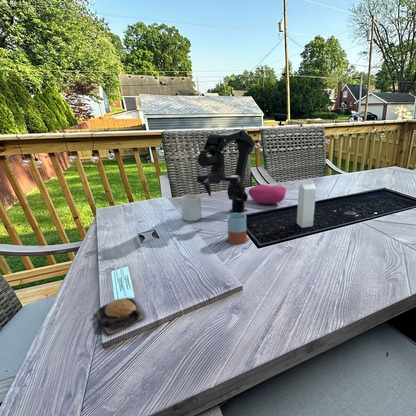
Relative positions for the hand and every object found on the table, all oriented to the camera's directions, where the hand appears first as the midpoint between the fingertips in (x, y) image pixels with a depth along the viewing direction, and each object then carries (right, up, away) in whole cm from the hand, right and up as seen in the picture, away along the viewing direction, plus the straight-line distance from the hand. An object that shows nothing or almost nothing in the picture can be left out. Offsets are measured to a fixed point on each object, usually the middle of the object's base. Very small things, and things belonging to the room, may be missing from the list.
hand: (219, 196), depth 122 cm
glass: (+11, -14, -16) cm, 24 cm away
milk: (+40, -14, +4) cm, 42 cm away
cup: (+11, -19, -14) cm, 26 cm away
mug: (-15, -10, +6) cm, 19 cm away
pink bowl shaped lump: (+20, -2, +35) cm, 40 cm away
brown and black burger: (-11, -33, -56) cm, 66 cm away
